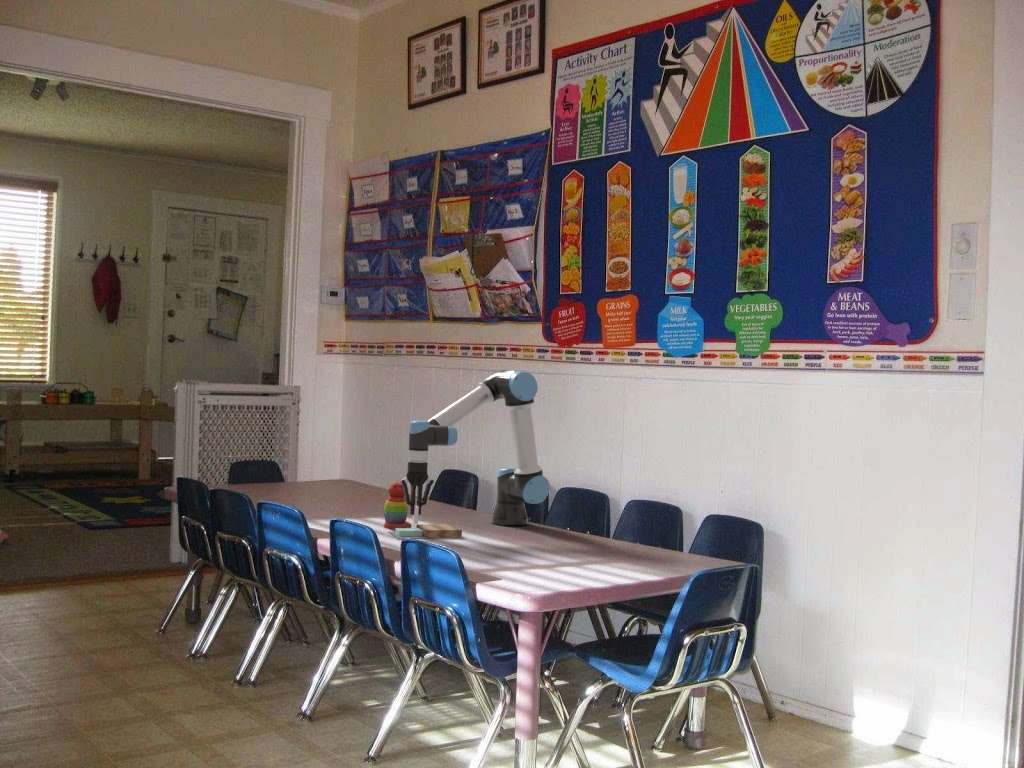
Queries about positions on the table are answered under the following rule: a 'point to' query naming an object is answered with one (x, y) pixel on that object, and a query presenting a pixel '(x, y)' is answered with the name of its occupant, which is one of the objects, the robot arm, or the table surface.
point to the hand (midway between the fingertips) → (415, 523)
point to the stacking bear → (396, 508)
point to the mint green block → (408, 531)
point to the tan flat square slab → (440, 530)
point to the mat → (405, 536)
